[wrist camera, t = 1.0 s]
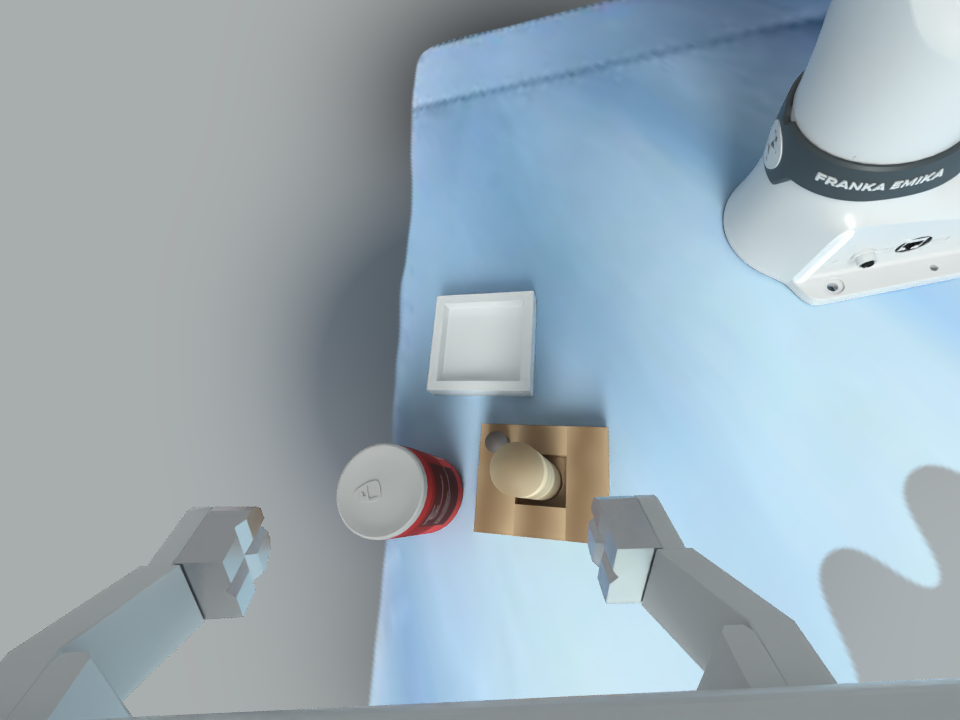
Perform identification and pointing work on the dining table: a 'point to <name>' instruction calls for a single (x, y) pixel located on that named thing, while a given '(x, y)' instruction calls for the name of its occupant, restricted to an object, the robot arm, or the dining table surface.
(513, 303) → the tray
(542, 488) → the dowel
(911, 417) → the dining table surface
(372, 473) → the canned food
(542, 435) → the socket block
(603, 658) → the dining table surface
